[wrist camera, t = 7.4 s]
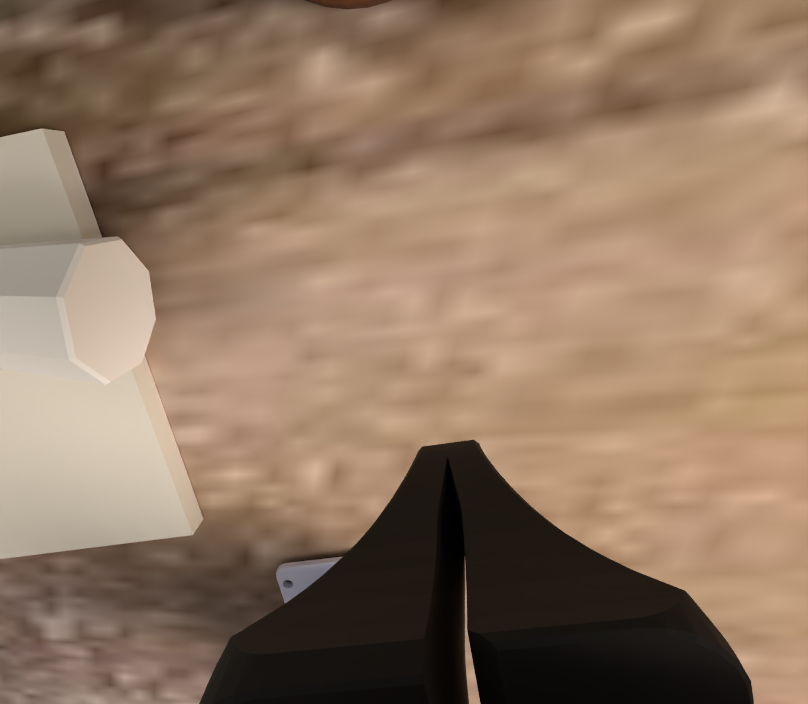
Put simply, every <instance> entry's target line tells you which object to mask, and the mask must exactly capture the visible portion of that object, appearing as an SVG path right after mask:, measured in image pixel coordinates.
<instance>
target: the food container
mask: <svg viewBox="0 0 808 704" xmlns="http://www.w3.org/2000/svg"><path fill="white" fill-rule="evenodd" d="M306 1H308V2H312V3H315V4H318V5H322V6H325V7H331V8H341V9H356V8H367V7H372V6H375V5H379V4H382V3H386V2H389V1H391V0H306Z"/></svg>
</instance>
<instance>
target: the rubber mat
mask: <svg viewBox="0 0 808 704" xmlns="http://www.w3.org/2000/svg"><path fill="white" fill-rule="evenodd" d="M90 238H102V235H101V232H100V230H99V227H98V224H97V221H96V219H95V216H94V213H93V210H92V207H91V205H90V202H89V199H88V196H87V194H86V191H85V188H84V185H83V182H82V180H81V177H80V174H79V171H78V168H77V166H76V163H75V160H74V157H73V155H72V152H71V149H70V146H69V143H68V141H67V138H66V135H65V132H64V131H58V130H50V129H43V128H41V129H37V130H32V131H27V132H23V133H18V134H13V135H9V136H4V137H0V246H1V245H13V244H26V243H39V242H52V241H65V240H77V239H90ZM202 520H203V516H202V514H201V511H200V508H199V505H198V502H197V500H196V497H195V494H194V491H193V489H192V486H191V483H190V480H189V477H188V475H187V472H186V469H185V466H184V464H183V461H182V458H181V455H180V452H179V450H178V447H177V444H176V441H175V438H174V436H173V433H172V430H171V427H170V425H169V422H168V419H167V416H166V413H165V411H164V408H163V405H162V402H161V400H160V397H159V394H158V391H157V388H156V386H155V383H154V380H153V377H152V374H151V372H150V369H149V366H148V363H147V361H146V358H145V355H144V358H143V361H142V363H141V364H139V365H138V366H136V367H134V368H133V369H131V370H129V371H128V372H126V373H124V374H123V375H121V376H119V377H118V378H116V379H114V380H113V381H111V382H109V383H108V384H106V385H104V384H98V383H91V382H85V381H78V380H72V379H66V378H59V377H53V376H46V375H40V374H33V373H27V372H20V371H14V370H7V369H1V368H0V559H5V558H13V557H21V556H29V555H37V554H45V553H53V552H61V551H69V550H77V549H85V548H93V547H101V546H109V545H117V544H125V543H133V542H141V541H149V540H157V539H165V538H173V537H181V536H189V535H193V534H194V533H195V531H196V529H197V528H198V526H199V525H200V523H201V522H202Z"/></svg>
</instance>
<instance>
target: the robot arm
mask: <svg viewBox="0 0 808 704" xmlns="http://www.w3.org/2000/svg"><path fill="white" fill-rule="evenodd" d="M465 561H466V583H467V630H468V636H469V641H470V647H471V652H472V658H473V664H474V669H475V675H476V680H477V686H478V691H479V697H480V703H481V704H754V700H753V693H752V686H751V680H750V679H749V677H748V675H747V673H746V672H745V670H744V668H743V666H742V665H741V663H740V661H739V659H738V658H737V656H736V654H735V653H734V651H733V650H732V648H731V647H730V645H729V644H728V642H727V641H726V640H725V638H724V637H723V635H722V634H721V633H720V632H719V630H718V629H717V628H716V627H715V626H714V624H713V623H712V622H711V621H710V619H709V618H708V617H707V616H706V615H705V613H704V612H703V611H702V610H701V609H700V607H699V606H698V605H697V604H696V603H695V601H694V600H693V599H692V598H691V597H690V596H689V594H688V593H687V592H686V591H684V590H682V589H679V588H677V587H674V586H671V585H669V584H666V583H664V582H661V581H659V580H656V579H654V578H651V577H649V576H646V575H643V574H641V573H638V572H636V571H634V570H631V569H629V568H627V567H625V566H623V565H621V564H619V563H617V562H615V561H613V560H611V559H609V558H607V557H605V556H603V555H601V554H599V553H597V552H595V551H594V550H592V549H590V548H588V547H587V546H585V545H583V544H582V543H580V542H579V541H577V540H575V539H574V538H572V537H570V536H569V535H567V534H566V533H564V532H563V531H561V530H560V529H559V528H557V527H556V526H554V525H553V524H552V523H551V522H549V521H548V520H547V519H545V518H544V517H543V516H542V515H541V514H539V513H538V512H537V511H536V510H535V509H534V508H532V507H531V506H530V505H529V504H528V503H527V502H526V501H525V500H524V499H523V498H522V497H521V496H520V495H519V494H518V493H517V492H516V491H515V490H514V489H513V488H512V487H511V486H510V485H509V484H508V483H507V482H506V481H505V479H504V478H503V477H502V476H501V475H500V474H499V473H498V471H497V470H496V469H495V468H494V466H493V465H492V464H491V462H490V461H489V460H488V458H487V457H486V455H485V454H484V452H483V451H482V449H481V447H480V445H479V443H477V442H476V441H475V440H469V441H461V442H454V443H446V444H439V445H432V446H424V447H422V448H421V449H420V450H419V451H418V453H417V455H416V457H415V460H414V462H413V463H412V465H411V467H410V469H409V471H408V473H407V475H406V476H405V478H404V480H403V481H402V483H401V485H400V486H399V488H398V490H397V491H396V493H395V494H394V496H393V497H392V499H391V500H390V502H389V503H388V505H387V506H386V507H385V509H384V510H383V512H382V513H381V514H380V516H379V517H378V519H377V520H376V521H375V522H374V524H373V525H372V526H371V527H370V529H369V530H368V531H367V532H366V533H365V535H364V536H363V537H362V538H361V539H360V540H359V541H358V542H357V544H356V545H355V546H354V547H353V548H352V549H351V550H350V551H349V552H347V553H346V554H345V555H344V556H343V557H334V558H326V559H317V560H308V561H300V562H291V563H284V564H281V565H280V566H279V567H278V569H277V572H276V578H277V581H278V584H279V587H280V590H281V593H282V597H283V600H284V603H285V604H284V605H282V606H281V607H279V608H278V609H276V610H275V611H273V612H272V613H270V614H268V615H267V616H265V617H264V618H262V619H260V620H259V621H257V622H255V623H254V624H252V625H251V626H249V627H247V628H246V629H244V630H243V631H241V632H239V633H237V634H236V635H234V636H232V637H231V638H230V640H229V642H228V644H227V646H226V648H225V650H224V652H223V654H222V655H221V657H220V659H219V661H218V663H217V665H216V667H215V669H214V671H213V674H212V676H211V678H210V680H209V682H208V685H207V687H206V689H205V692H204V694H203V696H202V699H201V701H200V703H199V704H469V699H468V688H467V678H466V665H465ZM286 580H290V581H292V582H287V581H286Z"/></svg>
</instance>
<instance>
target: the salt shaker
mask: <svg viewBox="0 0 808 704" xmlns="http://www.w3.org/2000/svg"><path fill="white" fill-rule="evenodd" d="M155 321H156V317H155V310H154V303H153V296H152V289H151V283H150V276H149V271H148V270H147V268H146V267H145V266H144V265H143V264H142V263H141V261H140V260H139V259H138V258H137V257H136V255H135V254H134V253H133V252H132V251H131V250H130V248H129V247H128V246H127V245H126V244H125V242H124V241H123V240H122V239H121V238H119V237H118V236H116V237H103V238H90V239H77V240H65V241H52V242H39V243H26V244H13V245H1V246H0V368H1V369H7V370H14V371H20V372H27V373H33V374H40V375H46V376H53V377H59V378H66V379H72V380H78V381H85V382H91V383H98V384H104V385H106V384H108V383H109V382H111V381H113V380H114V379H116V378H118V377H119V376H121V375H123V374H124V373H126V372H128V371H129V370H131V369H133V368H134V367H136V366H138V365H139V364H141V363H142V361H143V358H144V355H145V352H146V348H147V345H148V342H149V339H150V336H151V333H152V330H153V327H154V324H155Z"/></svg>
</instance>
